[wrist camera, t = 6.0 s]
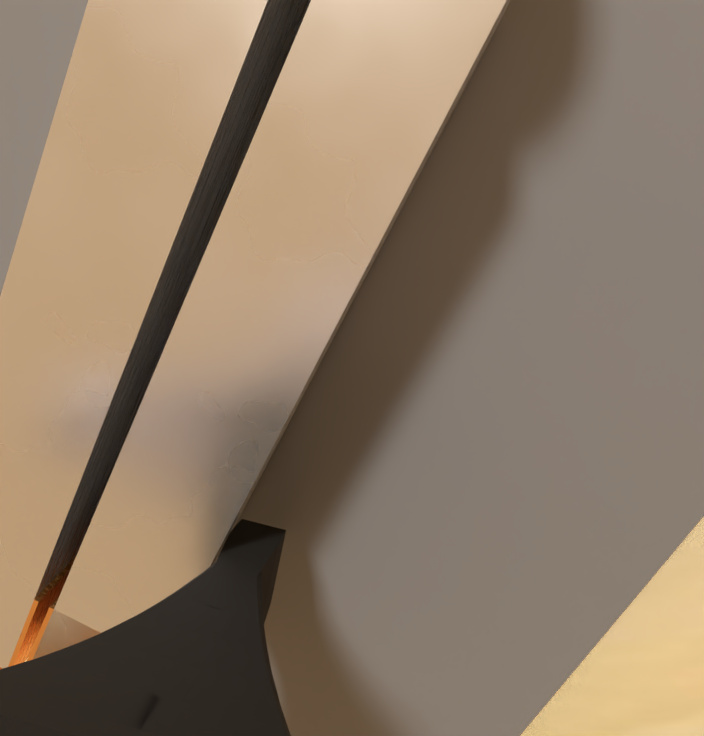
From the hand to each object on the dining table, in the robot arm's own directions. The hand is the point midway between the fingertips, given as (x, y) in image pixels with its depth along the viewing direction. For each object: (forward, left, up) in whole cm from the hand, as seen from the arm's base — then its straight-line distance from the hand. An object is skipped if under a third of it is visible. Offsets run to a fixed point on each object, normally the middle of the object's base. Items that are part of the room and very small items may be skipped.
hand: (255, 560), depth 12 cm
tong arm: (+2, -4, -1) cm, 5 cm away
